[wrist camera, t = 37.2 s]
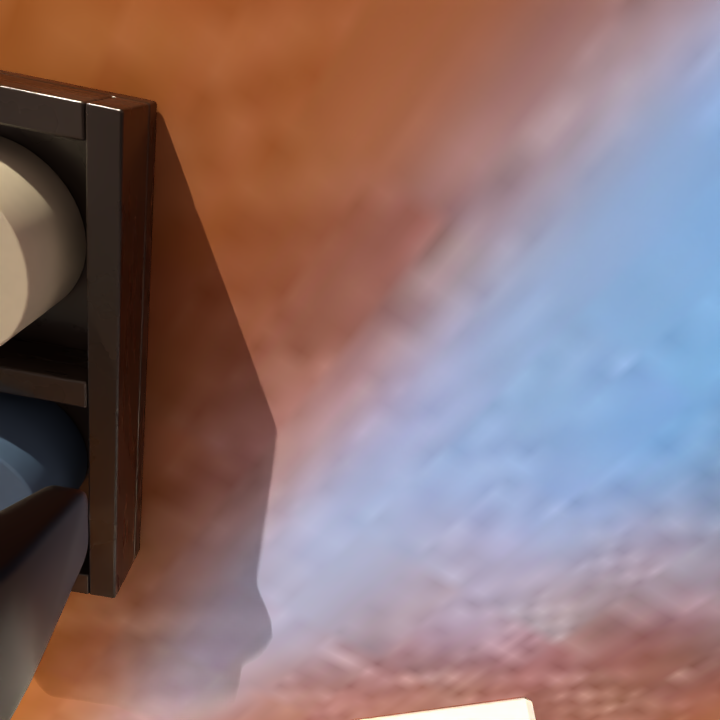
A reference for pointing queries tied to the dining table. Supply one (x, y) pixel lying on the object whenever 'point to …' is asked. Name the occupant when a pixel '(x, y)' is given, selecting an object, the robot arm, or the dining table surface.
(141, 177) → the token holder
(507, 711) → the gable box
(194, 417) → the dining table surface
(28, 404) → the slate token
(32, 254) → the cylinder
